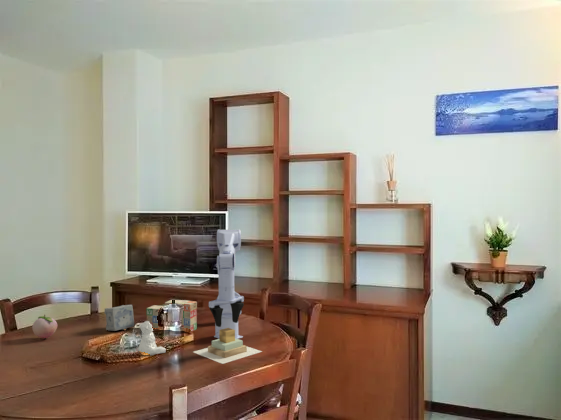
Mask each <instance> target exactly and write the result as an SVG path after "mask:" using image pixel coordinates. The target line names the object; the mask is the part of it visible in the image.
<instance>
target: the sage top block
mask: <svg viewBox="0 0 561 420" xmlns="http://www.w3.org/2000/svg"><path fill="white" fill-rule="evenodd" d="M211 345H212V347H215V348H218V349H221V350H223V351H228V350H231V349H235V348H238V347H241V346H243V345H244V342H243V340H242V339H240V338H239V339H236V338H235V341H232V342H229V343H224V342H221V341H219V338H217V339H214V340H211Z"/></svg>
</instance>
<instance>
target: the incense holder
mask: <svg viewBox="0 0 561 420" xmlns="http://www.w3.org/2000/svg"><path fill="white" fill-rule="evenodd" d="M104 314H105V319H106V320H105V321H106V326H105V330H106V331H107V330H108V331H109V332H111V331H112V332H113V331H114V332H115V331H119V330H122V331H123V330H124V329H126V330H127V329H128V328H133V327H135V319H134V309H133V304H125V305H124V304H122V305H119V306H114V307H113V306H112V307H108V308H107V307H106V308H104Z"/></svg>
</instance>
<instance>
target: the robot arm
mask: <svg viewBox="0 0 561 420" xmlns="http://www.w3.org/2000/svg"><path fill="white" fill-rule="evenodd" d="M216 243H217V249H218V251H219V253H218V254H219V255H217V257H216V267H217V275H218V295H217V297H216V299H215V300H211V301H210V300H209V301H208V307H209V310H210V313H211V315H212V316H213V319H214V325H215V326H214V327H215V329H214V330H215V333H214V334H215V335H213V337H214V338H217V339H219V330H221V329H225V328H230V329H234V330H235V338H236V339H239V340H240V339H242V338H243V337H244V336H243V335H240V334H239V318H240V316H241V314H242V309H243V308H244V306H245V305H244V302H245V301H244V300H245V297H244V296H243V295H240V294H239V293H238V292H236V291H235V270H236V253H237V252H240V250H241V245H242V231H241V229H239V228H238V229H217V231H216Z"/></svg>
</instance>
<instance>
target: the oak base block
mask: <svg viewBox="0 0 561 420" xmlns="http://www.w3.org/2000/svg"><path fill="white" fill-rule="evenodd" d="M247 347H248V346H247V345H245V344H243V346H241V347H238V348H235V349H231V350H228V351H223V350H221V349H218V348H215V347H212V344H211V345H208V346H207V348H208V352H210V353H212V354H215V355H218V356H220V357H223V358H227V357H230V356H234V355H237V354H240V353H244V352H247Z"/></svg>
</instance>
